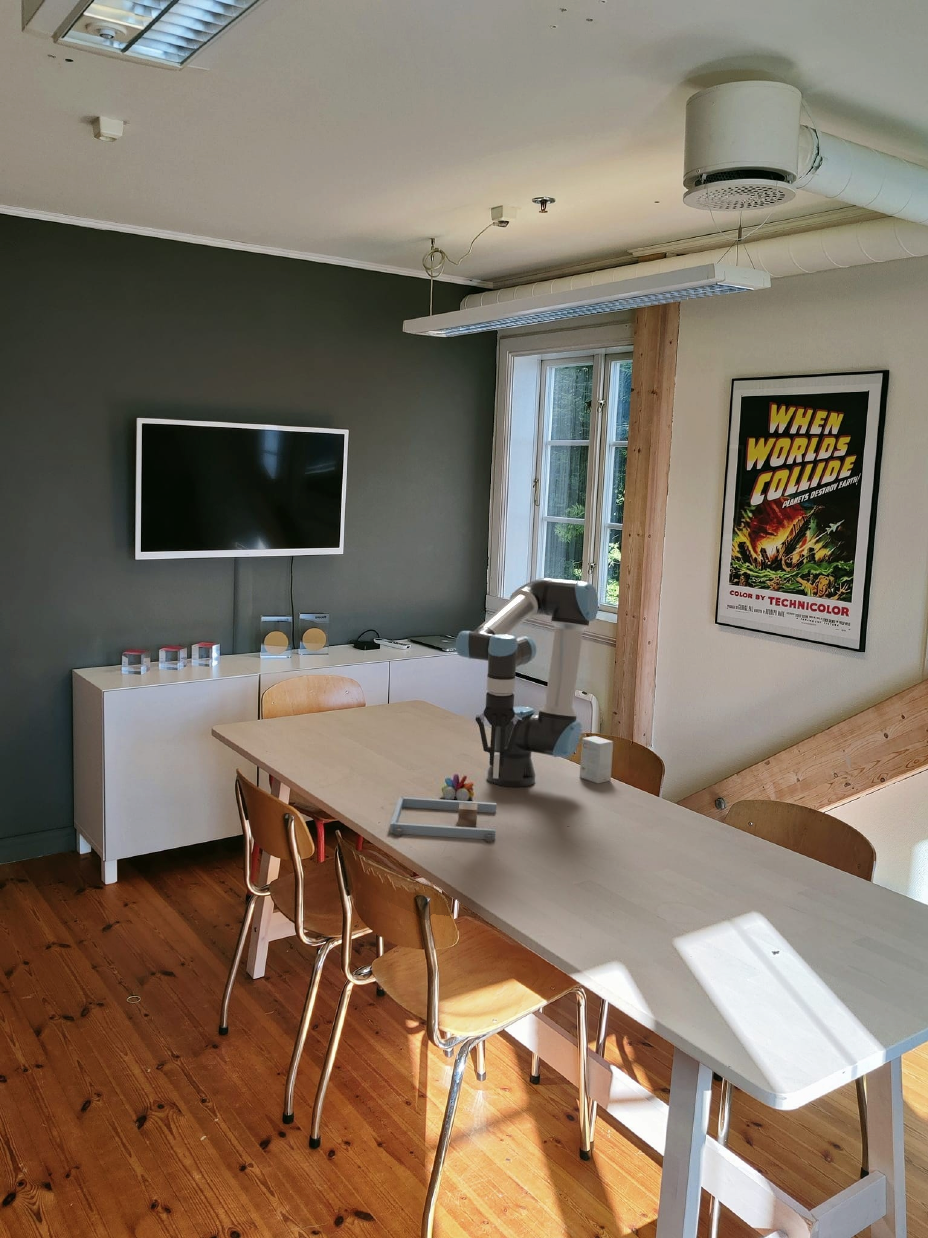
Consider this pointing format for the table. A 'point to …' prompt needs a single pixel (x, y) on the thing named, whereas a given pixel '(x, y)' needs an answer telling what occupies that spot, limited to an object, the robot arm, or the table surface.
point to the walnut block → (467, 815)
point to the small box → (596, 759)
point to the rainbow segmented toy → (457, 789)
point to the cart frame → (436, 829)
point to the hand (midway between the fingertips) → (495, 776)
